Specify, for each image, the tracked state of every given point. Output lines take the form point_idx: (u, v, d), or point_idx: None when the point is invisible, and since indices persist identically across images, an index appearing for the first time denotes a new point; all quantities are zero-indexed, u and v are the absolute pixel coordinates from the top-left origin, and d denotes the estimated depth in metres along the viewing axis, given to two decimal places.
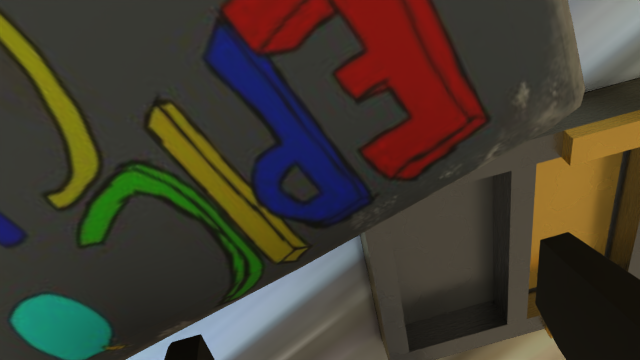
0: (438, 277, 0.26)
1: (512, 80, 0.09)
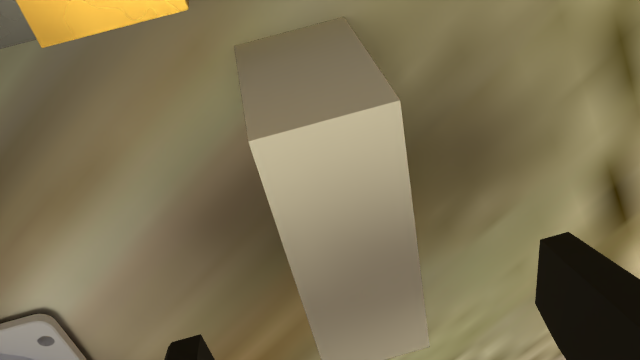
0: None
1: None
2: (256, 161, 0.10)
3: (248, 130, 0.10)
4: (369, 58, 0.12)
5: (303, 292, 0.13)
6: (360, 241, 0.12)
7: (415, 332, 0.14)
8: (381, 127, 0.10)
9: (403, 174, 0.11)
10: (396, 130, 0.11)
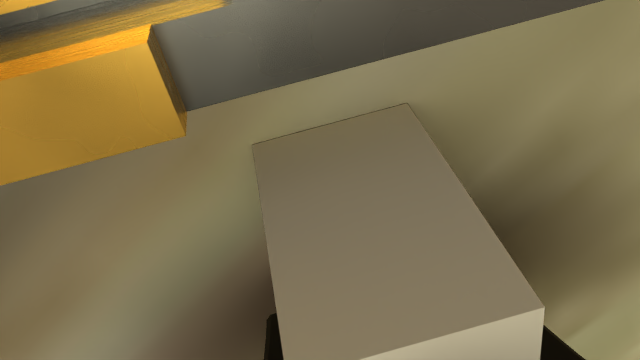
0: None
1: None
2: None
3: (285, 349, 0.06)
4: (466, 196, 0.08)
5: None
6: None
7: None
8: (507, 343, 0.06)
9: None
10: (529, 343, 0.06)
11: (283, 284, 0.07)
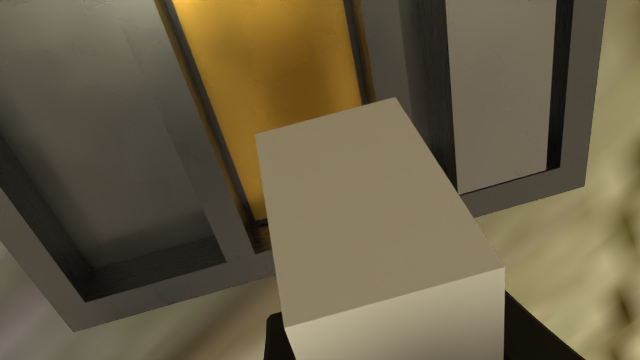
0: (119, 193, 0.18)
1: None
2: (294, 348, 0.07)
3: (283, 303, 0.07)
4: (443, 177, 0.09)
5: None
6: None
7: None
8: (474, 299, 0.07)
9: (496, 349, 0.08)
10: (494, 301, 0.07)
11: (281, 252, 0.08)
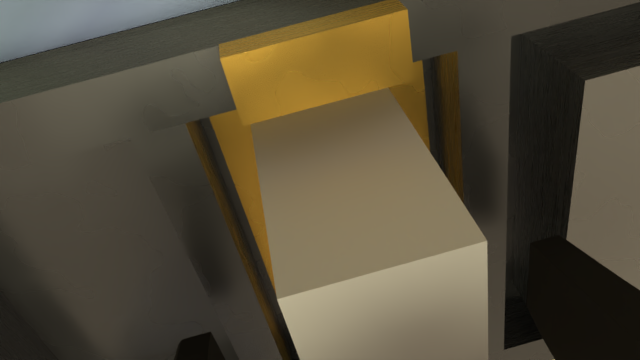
0: (138, 337, 0.15)
1: None
2: (287, 319, 0.08)
3: (275, 277, 0.08)
4: (431, 159, 0.09)
5: None
6: None
7: None
8: (458, 272, 0.08)
9: (480, 322, 0.08)
10: (477, 274, 0.08)
11: (275, 230, 0.08)
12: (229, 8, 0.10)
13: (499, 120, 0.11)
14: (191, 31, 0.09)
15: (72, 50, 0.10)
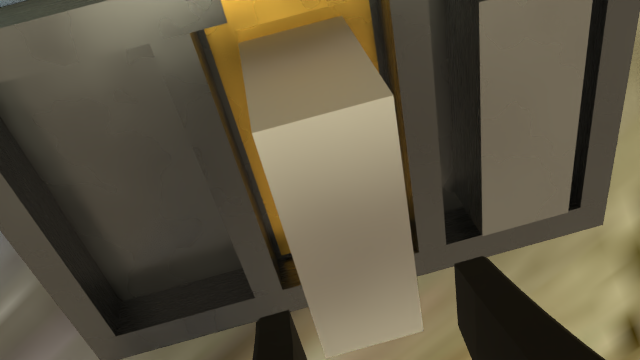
0: (151, 230, 0.18)
1: None
2: (259, 152, 0.11)
3: (251, 123, 0.11)
4: (365, 56, 0.13)
5: (303, 277, 0.14)
6: (357, 228, 0.13)
7: (409, 316, 0.15)
8: (376, 120, 0.11)
9: (397, 165, 0.12)
10: (390, 123, 0.11)
11: (253, 100, 0.12)
12: None
13: (423, 38, 0.14)
14: None
15: None
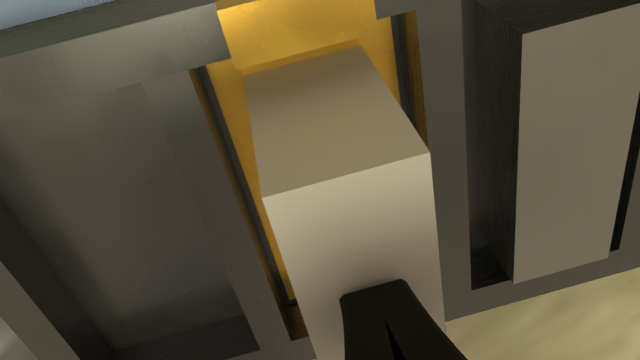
0: (145, 277, 0.16)
1: None
2: (270, 218, 0.09)
3: (261, 183, 0.09)
4: (392, 98, 0.11)
5: (318, 348, 0.12)
6: None
7: None
8: (408, 180, 0.09)
9: (430, 228, 0.10)
10: (424, 183, 0.10)
11: (262, 152, 0.10)
12: None
13: (455, 72, 0.12)
14: None
15: (92, 11, 0.12)
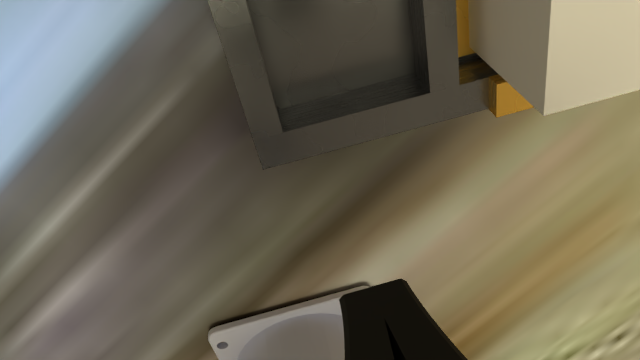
0: (324, 15, 0.17)
1: None
2: None
3: None
4: None
5: None
6: None
7: None
8: None
9: None
10: None
11: None
12: None
13: None
14: None
15: None
